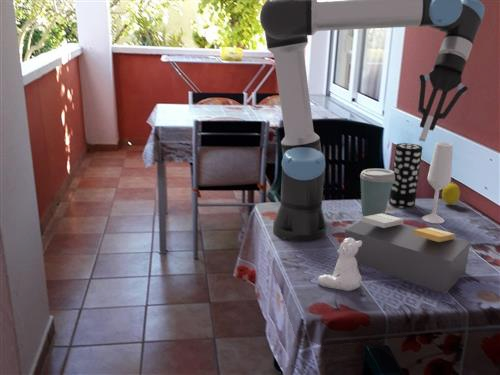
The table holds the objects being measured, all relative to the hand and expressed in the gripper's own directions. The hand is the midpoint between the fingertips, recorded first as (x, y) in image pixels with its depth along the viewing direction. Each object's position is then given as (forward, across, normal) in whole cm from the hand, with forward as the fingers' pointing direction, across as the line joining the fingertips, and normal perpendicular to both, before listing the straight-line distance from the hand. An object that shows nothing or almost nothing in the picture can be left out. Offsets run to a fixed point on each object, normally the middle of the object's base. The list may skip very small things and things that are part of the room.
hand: (422, 140), depth 133 cm
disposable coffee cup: (+23, +6, -22) cm, 33 cm away
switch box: (+33, -6, +7) cm, 34 cm away
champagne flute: (+18, -11, -26) cm, 33 cm away
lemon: (+10, -16, -40) cm, 45 cm away
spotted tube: (+15, -1, -36) cm, 39 cm away
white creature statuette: (+42, +5, +21) cm, 47 cm away
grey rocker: (+25, +2, +9) cm, 26 cm away
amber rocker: (+24, -10, +14) cm, 29 cm away
